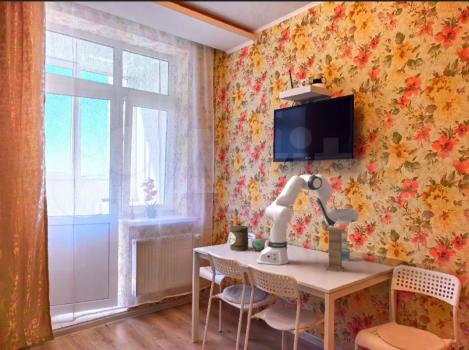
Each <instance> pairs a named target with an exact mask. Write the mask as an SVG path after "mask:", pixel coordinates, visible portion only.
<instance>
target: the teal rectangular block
mask: <svg viewBox="0 0 469 350" xmlns="http://www.w3.org/2000/svg"><path fill="white" fill-rule="evenodd" d="M350 253H351V252H350V248H348V230H345V231H343V232H342V262H343V261H345V262H349V260H350V257H351V256H350Z"/></svg>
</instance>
